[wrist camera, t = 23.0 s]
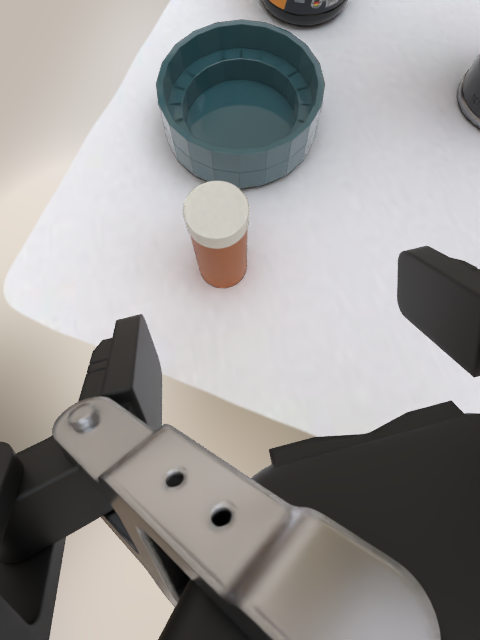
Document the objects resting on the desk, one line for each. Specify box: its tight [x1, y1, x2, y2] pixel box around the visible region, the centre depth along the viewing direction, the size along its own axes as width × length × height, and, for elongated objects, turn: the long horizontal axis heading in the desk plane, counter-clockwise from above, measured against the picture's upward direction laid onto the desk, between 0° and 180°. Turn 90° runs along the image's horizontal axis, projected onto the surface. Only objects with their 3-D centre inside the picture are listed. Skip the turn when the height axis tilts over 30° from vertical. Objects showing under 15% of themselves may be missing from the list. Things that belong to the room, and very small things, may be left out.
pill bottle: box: [183, 181, 249, 288], centre depth 32 cm, size 5×5×10 cm
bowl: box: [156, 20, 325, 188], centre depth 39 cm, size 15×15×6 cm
